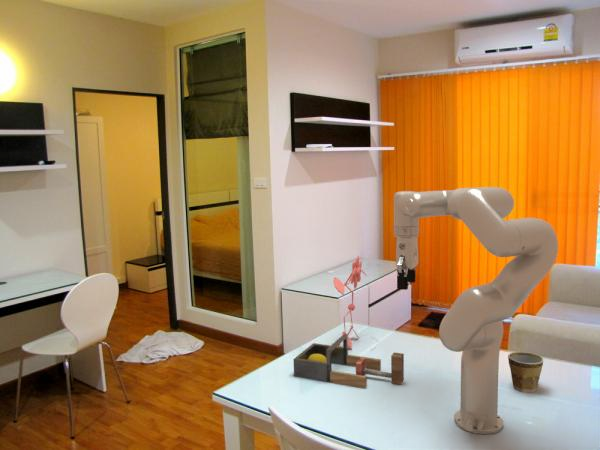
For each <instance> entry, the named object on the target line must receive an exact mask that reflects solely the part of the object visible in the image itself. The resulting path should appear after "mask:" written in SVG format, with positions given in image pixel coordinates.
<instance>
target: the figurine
mask: <svg viewBox="0 0 600 450" xmlns="http://www.w3.org/2000/svg"><path fill="white" fill-rule="evenodd" d="M362 264H363V263H362V260H360V256H359V255H357V256H356V258H355V260H353V262H352V263H351V265H352V266H351V267H352V270H351V273H350V275H349V276H348V277H347V279H346V281H345V283H343V282H342V281H341V279H340V278H337V277H336V276H335V277H333V285H334V288H335V289H336V290H337V292H338V293H340V294H341V295H343V296H344V295H345V287H346V288H347V289H348V290H349V291H350V292H351V303H350V304H348V307H347V308H348V310H349V311H348V312H346V314H345V315H344V316H343V327H344V331H343V332H342V335H343V334H347V337H348V348H349V349H350V350H352V348H353V347H352V345H353V344H352V340H351V339H350V336H349V335H350V333H351V331H352V332H354V334H355V335H356V337H357V339H360V337H359V336H358V334H357V333H356V331H355V330H354V325H353V319H352V318H353V317H352V311H354V310H355V309H356V305H355V304H354V292H353V290H352V289H351V288H350V287H349V286H348V284H351V285H353V288H354V289H355V290H356V288H357V287H358V283H360V282H361V280H362V276H361V274H362V273H363V274H364V276H368V275H367V274H366V273H365V271H363V269H362ZM349 314H350V322H351V323H350V324H351V325H350V329H349V330H348V332H346V320H345V317H347V315H349ZM342 335H341V336H342ZM372 339H374V340H375V338H373V337H372ZM376 342H379V341H378V340H376ZM341 344H342V342H341V343H340V344H339V345H338V346H337V347H341V346H340V345H341ZM376 348H377V347H376V346H375V347H374V348H373V349H371V351H372V350H374V349H376Z"/></svg>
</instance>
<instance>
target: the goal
mask: <svg viewBox="0 0 600 450" xmlns="http://www.w3.org/2000/svg"><path fill="white" fill-rule="evenodd" d="M347 334H348V333H346V334H343V335H341V336H340V337H339V338H338V339H336V340H335V341H334V342H333V343H332V344H331V345H328V344H323V343H322V344H321V343H311V344H310V345H309V346H308V347H307V348H306V349H304V350H303V351H301V352H300V353H299V354H298V355H297V356H296V357H294V358H293V377H297V378H303V379H307V380H314V381H319V382H325V383H330V372H331V371H333V370H332V364H335V365H341V366H347V355H349V351H348V350H349V349H348V348H349V347H348V337H347ZM340 343H341V344H342V343H343V344H342V346H339V347H338V345H339V344H340ZM341 344H340V345H341ZM312 354H322V355H324V356H325V357H326V360H327V363H325V362H318V361H312V360H307V359H308V358H309V356H310V355H312Z"/></svg>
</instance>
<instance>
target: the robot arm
mask: <svg viewBox="0 0 600 450" xmlns="http://www.w3.org/2000/svg"><path fill="white" fill-rule="evenodd" d="M514 206H515V199H514V197H513V195H512V194H511V192H510V191H508V190H507V189H505V188H503V187H500V186H498V187H497V186H484V187H482V186H481V187H459V188H456V189H453V190H451V189H450V190H449V189H447V190H445V189H444V190H428V191H427V190H426V191H425V190H424V191H412V190H402V191H397V192H395V193H394V195H393V236H394V237H395V238H396V243H395V244H396V245H395V246H396V248H395V266H396V269H397V270H396V280H397V281H396V289H397V290H403V291H404V290H406V291H407V290H408V289H409V283H416V267H417V266H418V265H419V248H418V247H419V245H418V237H419V236H420V235H419V234H420V218H429V217H440V216H441V217H442V216H451V217H452V218H454V219H456V220H459V221H462V222H463V224H464V225H465V226H466V227H467V229H468V230H469V231H470V232H471V234H473V236H474V237H475V238H476V239H477V240H478V241H479V242H480V243H481V246H483V247H484V248H485V250H486V251H487V252H489V253H490V254H492V255H493V256H495V257H498V258H510V257H513V258H512V259H511V260H510V261H509V262H507V263H506V264H505V265H504V267H502V269H501V271H500V272H499V273H498V275H497V276H496V277H495V278H494V279H493V280H492V281H490V282H487V283H485V284H481V285H476V286H472V287H469V288H467V289H465V290H464V291H463V292H461V293H460V294H459V295H458V297H457V298H456V299H455V301H454V303H452V305H451V306H450V308H449V309H448V311H447V312H446V313H445V315H444V316H443V318H442V320H441V322H440V324H439V328H438V329H439V332H438V334H439V339H440V341H441V343H442V345H443V346H444V347H445V348H446V349H448V350H449V351H451V352H455V353H461V352H462V354H461V360H460V405H459V406H460V409H459V410H457V411H456V412H455V413H454V416H453V417H454V418H453V421H454V423H455V424H456V425H457V426H458V427H459V428H460V429H463V430H464V431H467V432H470V433H474V434H478V435H491V434H496V433H499V432H500V431H501V430H503V428H504V420H503V418H502V417H501V416H500V415H499V414H498V408H499V407H498V403H499V400H498V399H499V398H498V397H499V370H500V369H499V365H500V351H501V346H502V340H503V336H504V324H503V321H505V320H508V319H510V318H512V317H513V316H514V314H516V313H517V312H518V311H519V308H520V307H521V306H522V305H523V304H524V303H525V302H526V300H527V299H528V298H529V297H530V295H531V294H532V292H533V291H534V290H535V289H536V288H537V287H538V285H539V284H540V283H541V282H542V281H543V279H544V278H545V277H546V276H547V274H548V273H549V272H550V271H551V269H552V268H553V266H554V264H555V262H556V259H557V257H558V251H559V243H558V242H559V241H558V237H557V233H556V231H555V229H554V227H553V226H552V225H551V224H550V223H549V222H547V221H546V220H544V219H540V218H535V217H524V218H523V217H521V218H513V219H507V220H504V219H505V218H507V217H508V216H509V215H510V214H511V213H512V211H513V210H514Z"/></svg>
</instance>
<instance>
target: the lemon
mask: <svg viewBox="0 0 600 450" xmlns="http://www.w3.org/2000/svg"><path fill="white" fill-rule="evenodd" d="M307 360H312V361H318V362H325V363H327V360H326V357H325V356H324V355H322V354H312V355H310V356H309V358H308V359H307Z"/></svg>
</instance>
